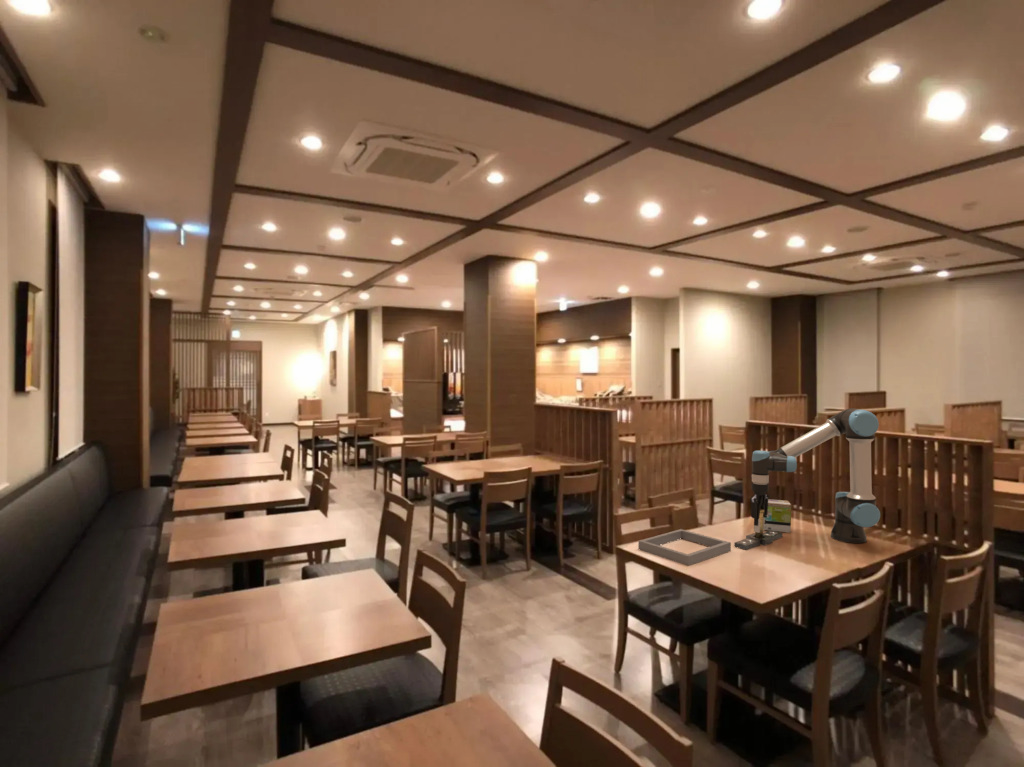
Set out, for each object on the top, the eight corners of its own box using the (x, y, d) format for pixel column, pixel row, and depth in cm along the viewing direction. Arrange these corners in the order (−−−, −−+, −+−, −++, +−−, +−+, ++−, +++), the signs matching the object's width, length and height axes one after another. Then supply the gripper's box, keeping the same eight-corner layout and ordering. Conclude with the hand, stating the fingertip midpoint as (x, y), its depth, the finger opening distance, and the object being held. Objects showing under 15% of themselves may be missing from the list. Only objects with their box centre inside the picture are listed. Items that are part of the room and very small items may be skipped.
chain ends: (786, 537, 279) (786, 532, 278) (749, 550, 258) (749, 545, 258) (767, 533, 286) (767, 528, 286) (731, 545, 266) (731, 540, 266)
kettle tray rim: (730, 551, 258) (730, 542, 258) (688, 565, 238) (688, 556, 238) (680, 537, 279) (680, 529, 279) (638, 549, 260) (638, 540, 260)
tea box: (759, 530, 291) (759, 502, 291) (756, 525, 301) (757, 497, 301) (791, 533, 287) (791, 504, 287) (787, 527, 297) (788, 499, 296)
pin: (765, 538, 272) (765, 509, 271) (760, 540, 269) (761, 510, 269) (757, 536, 275) (757, 507, 275) (752, 537, 272) (753, 509, 272)
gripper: (761, 479, 279) (760, 526, 280) (743, 483, 269) (742, 532, 270) (776, 482, 273) (775, 530, 274) (758, 486, 263) (757, 536, 264)
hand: (759, 531), depth 272 cm, fingers closed on pin, 3 cm apart
